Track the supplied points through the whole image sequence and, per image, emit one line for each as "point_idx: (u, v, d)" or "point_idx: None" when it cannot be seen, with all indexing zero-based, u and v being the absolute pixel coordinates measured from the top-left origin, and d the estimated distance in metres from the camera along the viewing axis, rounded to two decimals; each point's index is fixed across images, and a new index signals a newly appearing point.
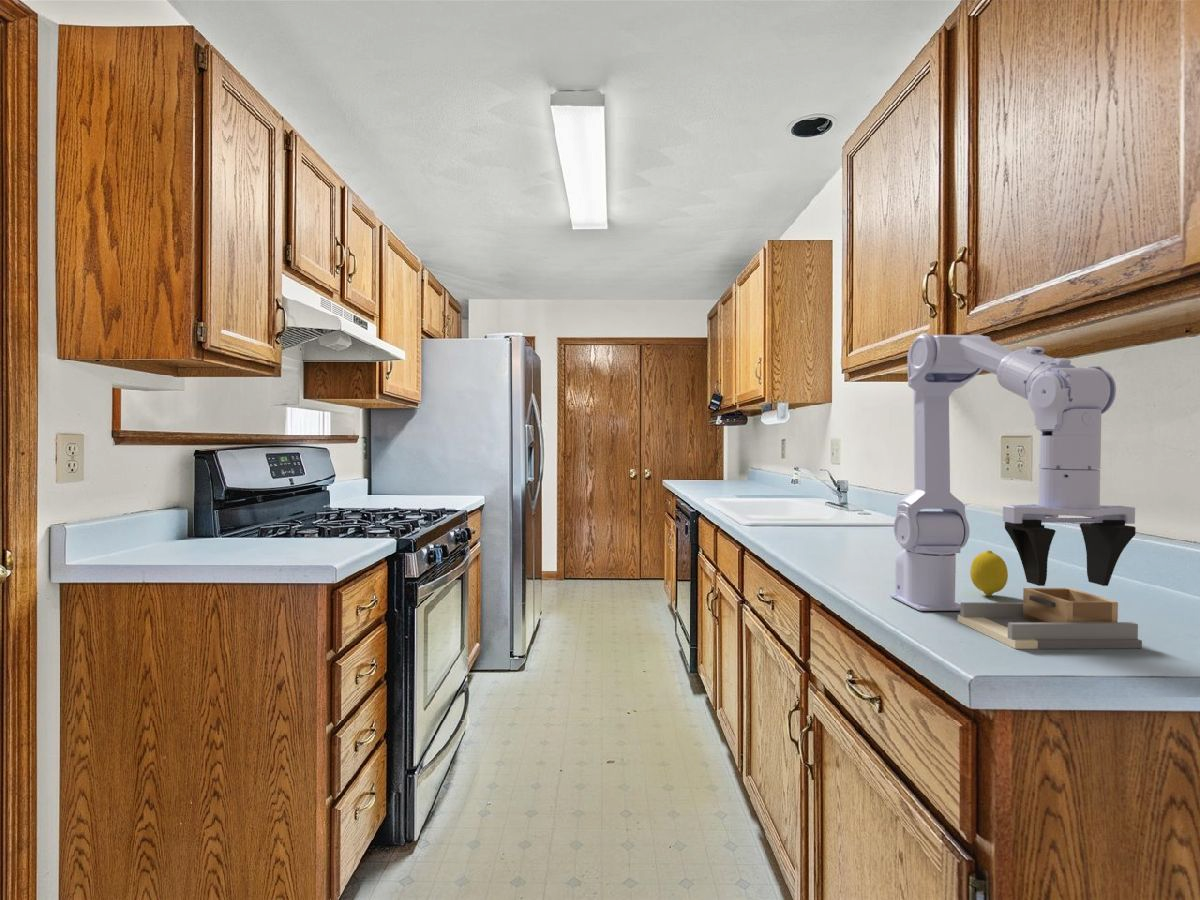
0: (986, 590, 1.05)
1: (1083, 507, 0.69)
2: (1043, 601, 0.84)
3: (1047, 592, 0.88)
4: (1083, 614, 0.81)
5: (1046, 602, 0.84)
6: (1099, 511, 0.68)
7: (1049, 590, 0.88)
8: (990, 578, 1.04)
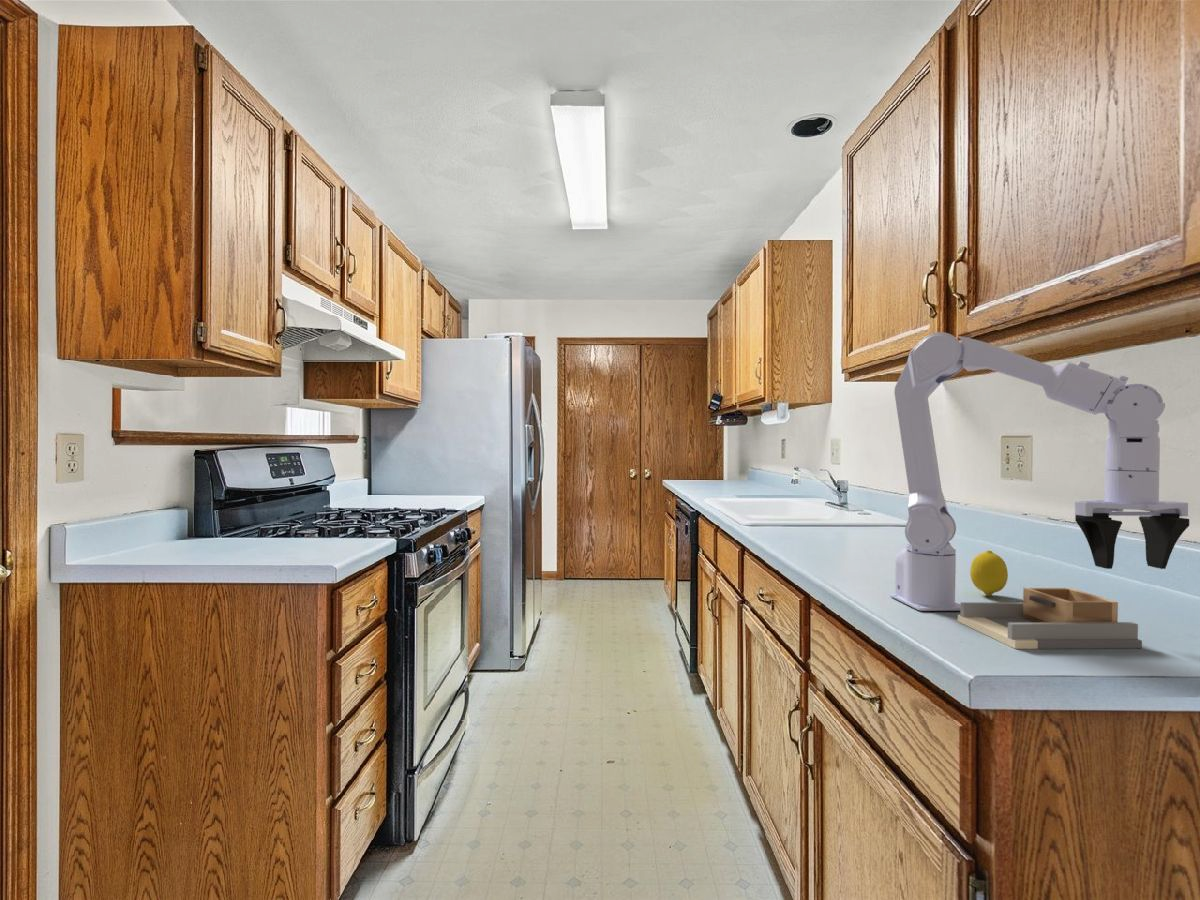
0: (986, 590, 1.05)
1: (1145, 502, 0.82)
2: (1043, 601, 0.84)
3: (1047, 592, 0.88)
4: (1083, 614, 0.81)
5: (1046, 602, 0.84)
6: (1160, 505, 0.81)
7: (1049, 590, 0.88)
8: (989, 578, 1.04)
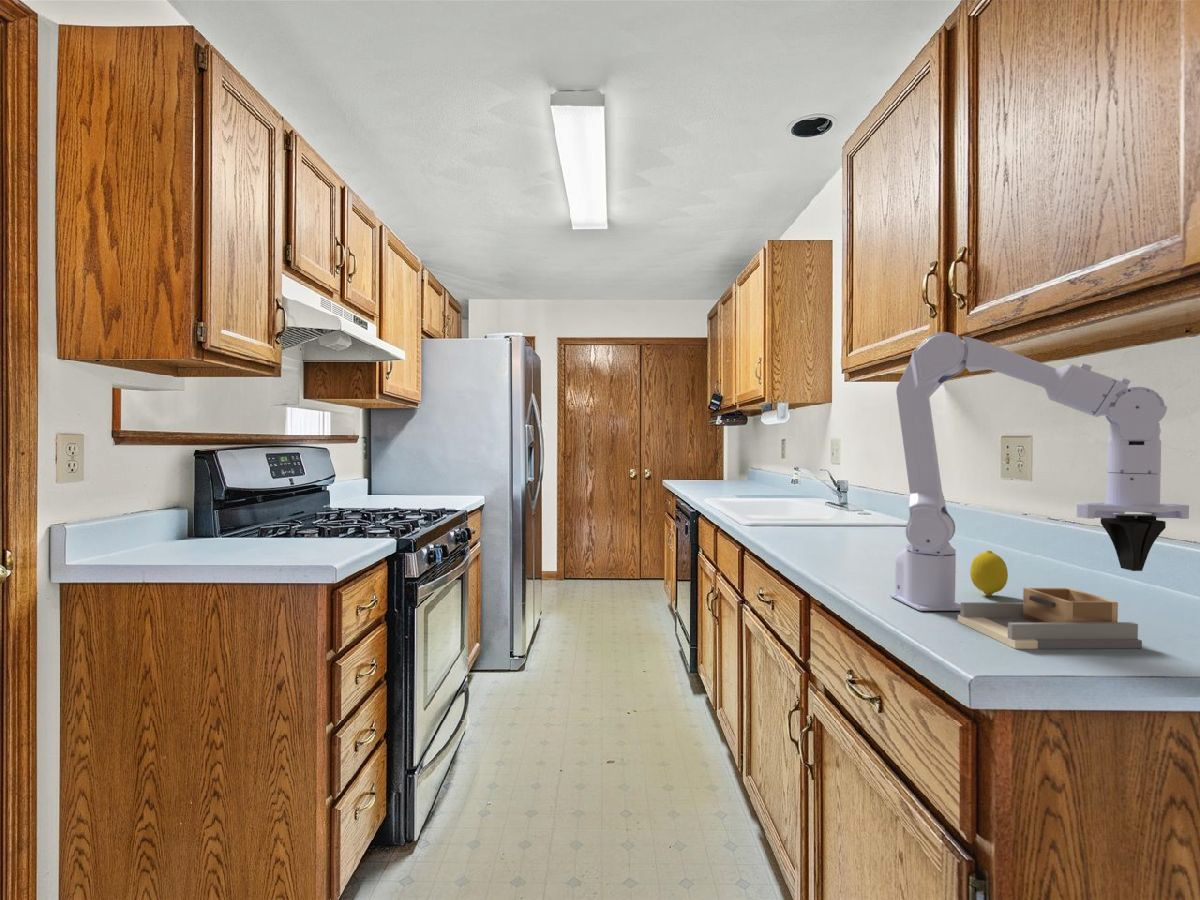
0: (986, 590, 1.05)
1: (1147, 505, 0.82)
2: (1043, 601, 0.84)
3: (1047, 592, 0.88)
4: (1083, 614, 0.81)
5: (1046, 602, 0.84)
6: (1161, 508, 0.81)
7: (1049, 590, 0.88)
8: (989, 578, 1.04)
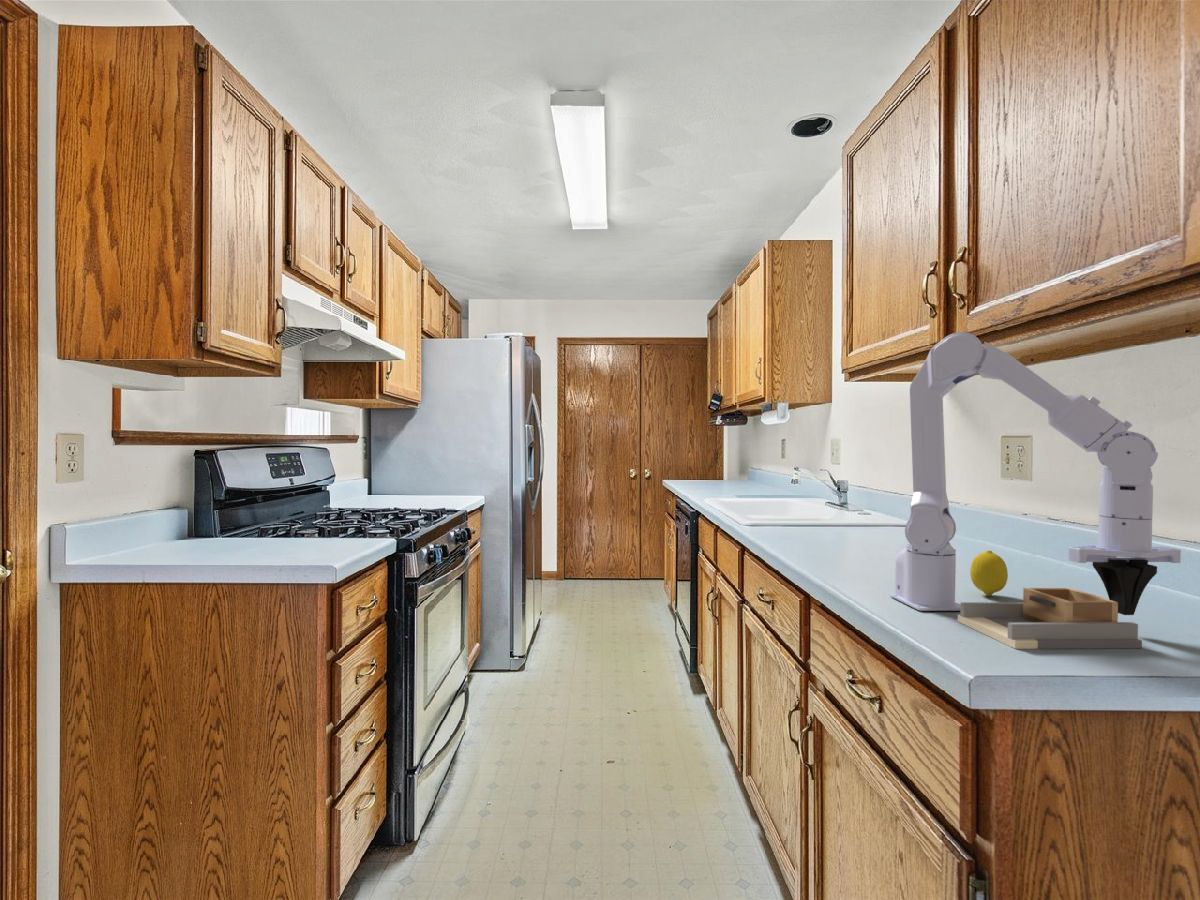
0: (986, 590, 1.05)
1: (1138, 550, 0.82)
2: (1043, 601, 0.84)
3: (1047, 592, 0.88)
4: (1083, 614, 0.81)
5: (1046, 602, 0.84)
6: (1152, 554, 0.81)
7: (1049, 590, 0.88)
8: (989, 578, 1.04)
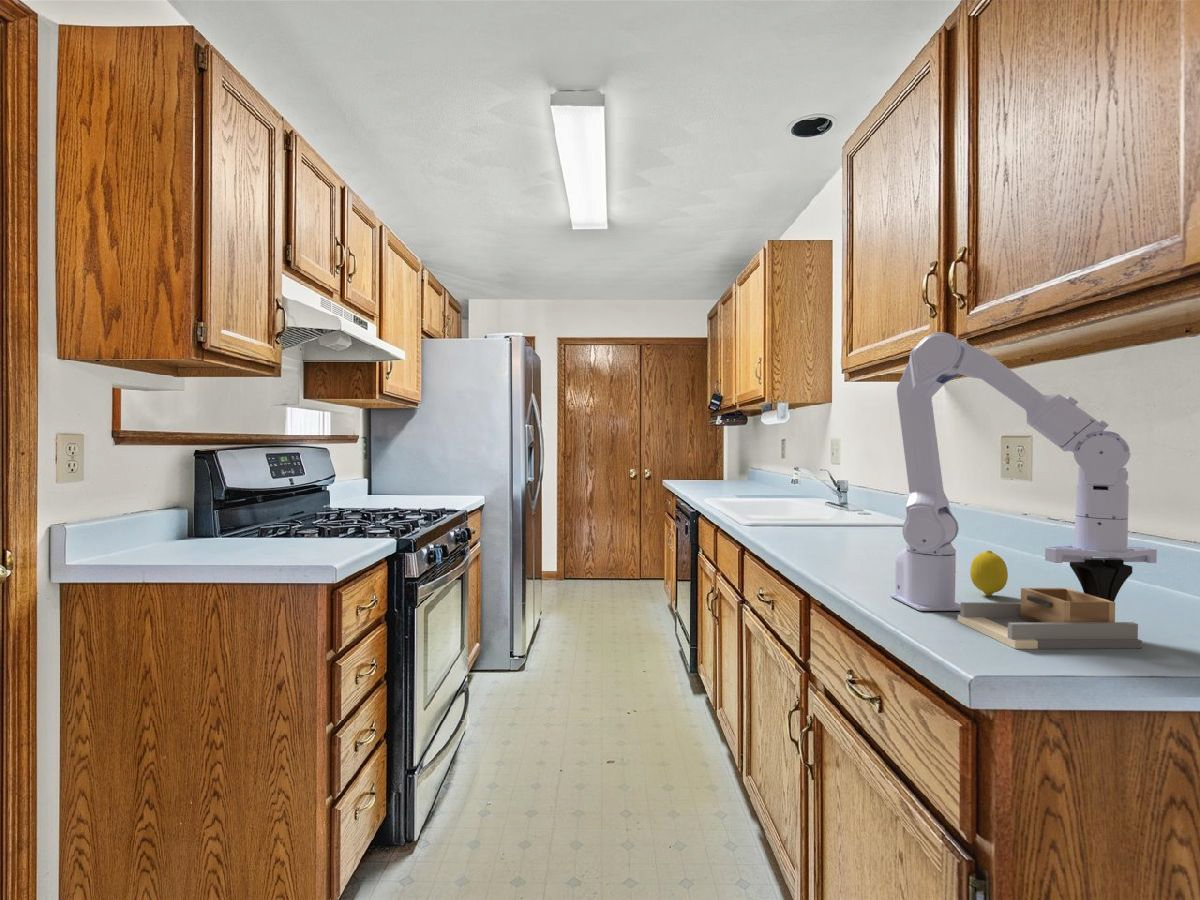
0: (986, 590, 1.05)
1: (1114, 550, 0.82)
2: (1040, 601, 0.84)
3: (1045, 592, 0.88)
4: (1080, 614, 0.81)
5: (1043, 602, 0.84)
6: (1128, 554, 0.81)
7: (1047, 590, 0.88)
8: (989, 578, 1.04)
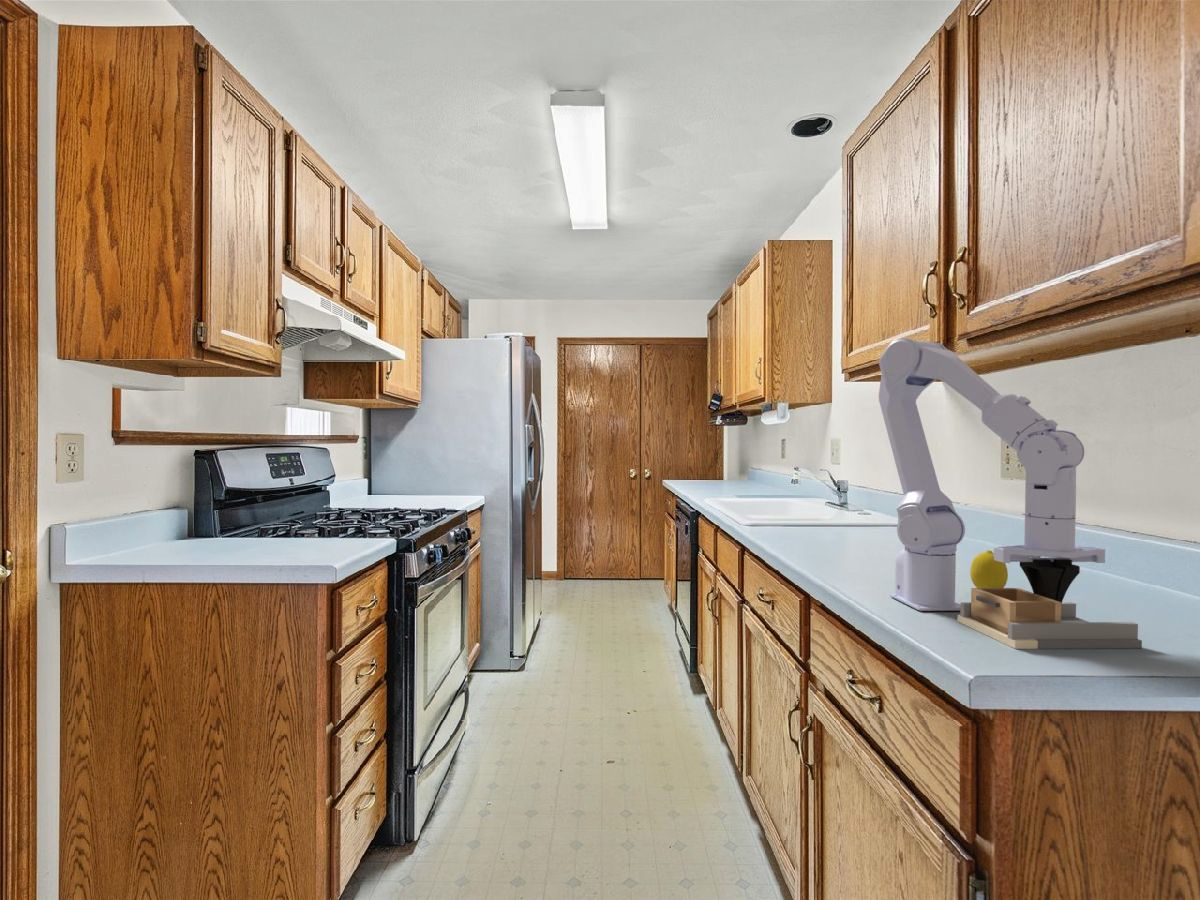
0: None
1: (1061, 550, 0.82)
2: (988, 601, 0.84)
3: (995, 592, 0.88)
4: (1026, 615, 0.81)
5: (991, 602, 0.84)
6: (1074, 554, 0.81)
7: (997, 590, 0.88)
8: (989, 578, 1.04)
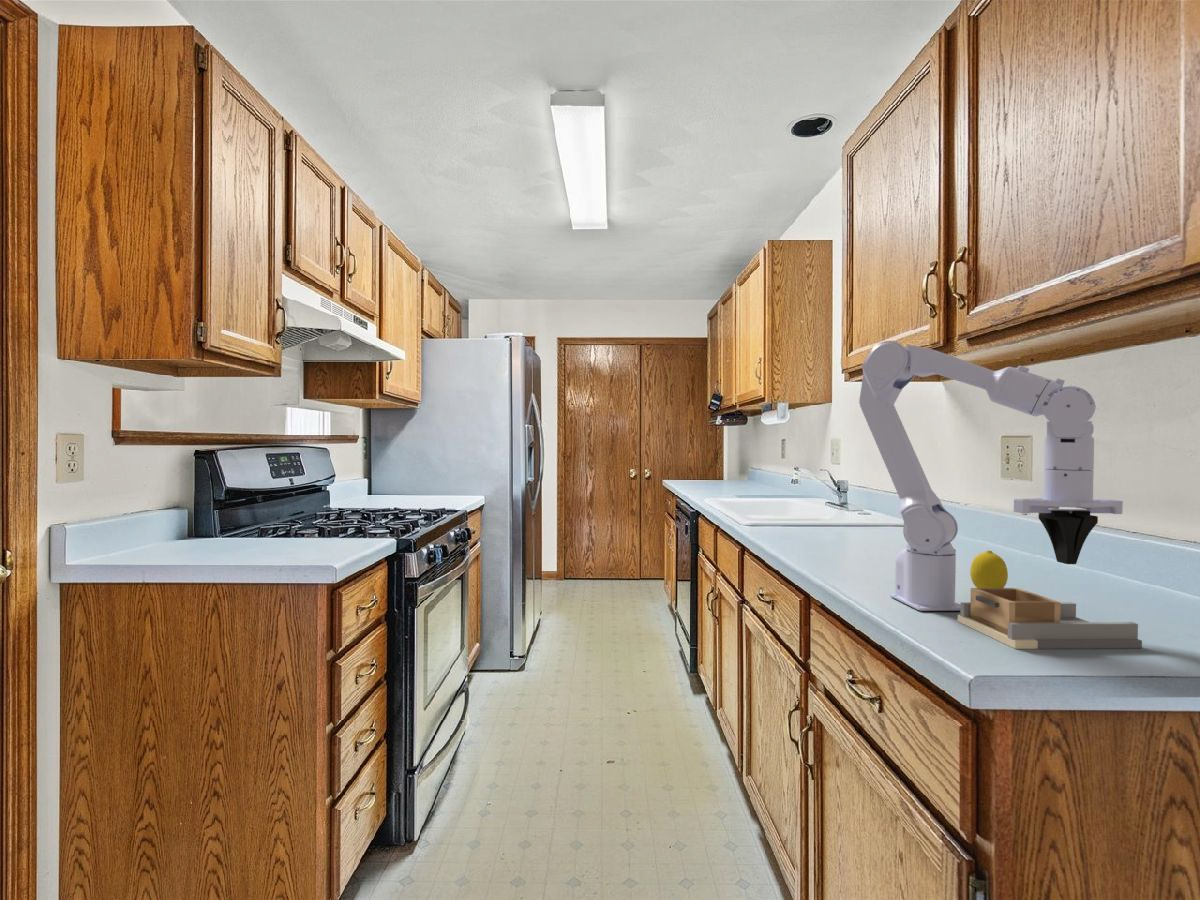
0: None
1: (1079, 500, 0.85)
2: (988, 601, 0.84)
3: (994, 592, 0.88)
4: (1025, 615, 0.81)
5: (990, 602, 0.84)
6: (1092, 503, 0.84)
7: (996, 590, 0.88)
8: (989, 578, 1.04)
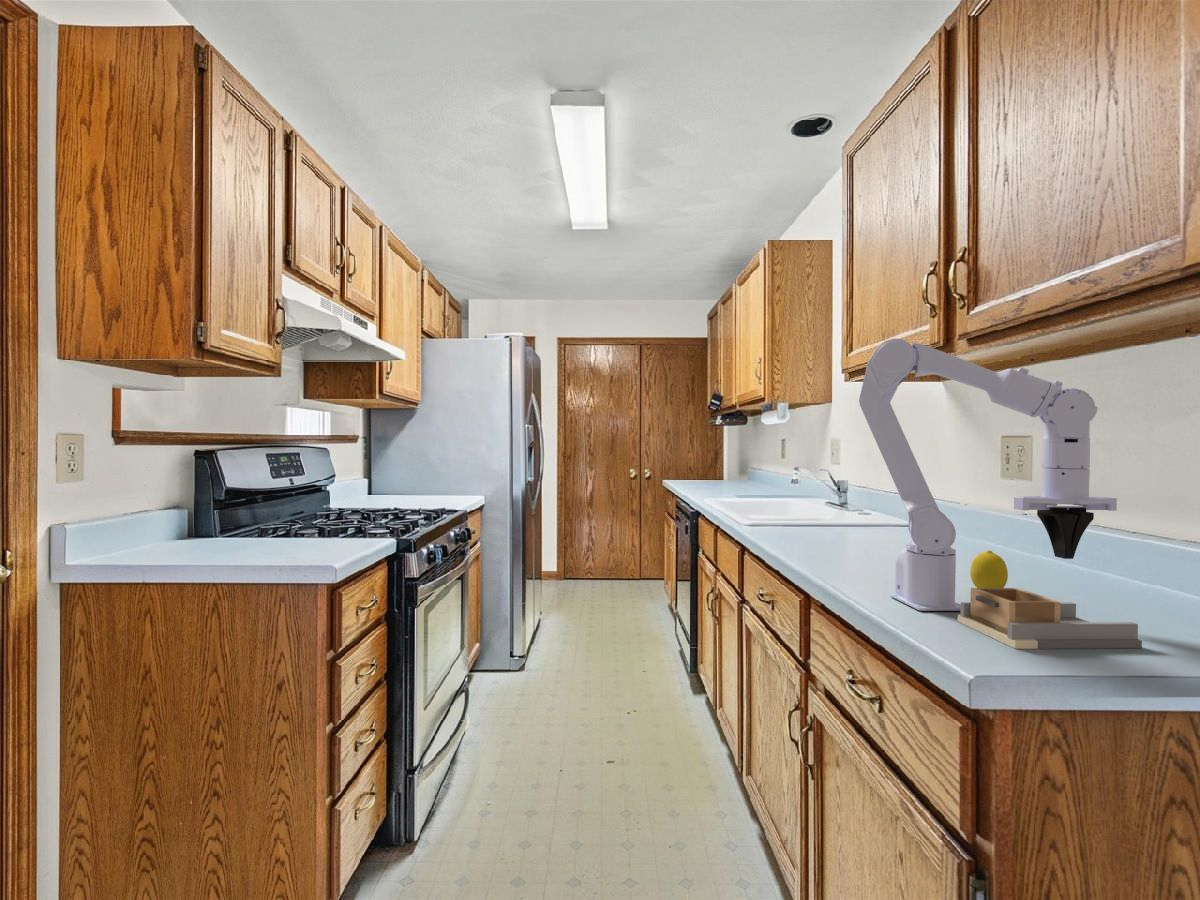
0: None
1: (1076, 497, 0.89)
2: (988, 601, 0.84)
3: (994, 592, 0.88)
4: (1025, 615, 0.81)
5: (990, 602, 0.84)
6: (1088, 500, 0.88)
7: (996, 590, 0.88)
8: (989, 578, 1.04)
